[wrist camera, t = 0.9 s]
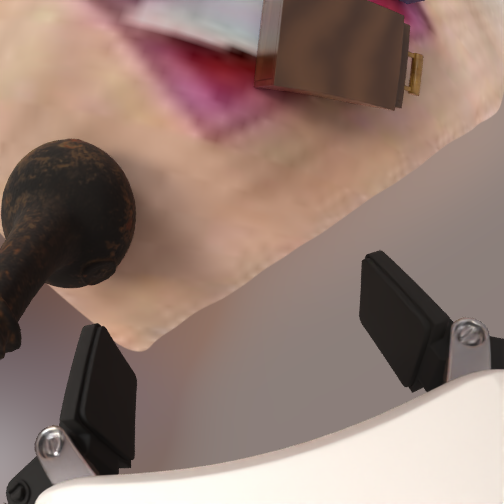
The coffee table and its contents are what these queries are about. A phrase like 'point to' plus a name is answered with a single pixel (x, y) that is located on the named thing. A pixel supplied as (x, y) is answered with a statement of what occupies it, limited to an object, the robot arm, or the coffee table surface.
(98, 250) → the black vase
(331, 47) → the cabinet
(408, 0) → the block
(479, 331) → the robot arm
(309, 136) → the coffee table surface
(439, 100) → the coffee table surface
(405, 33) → the drawer
